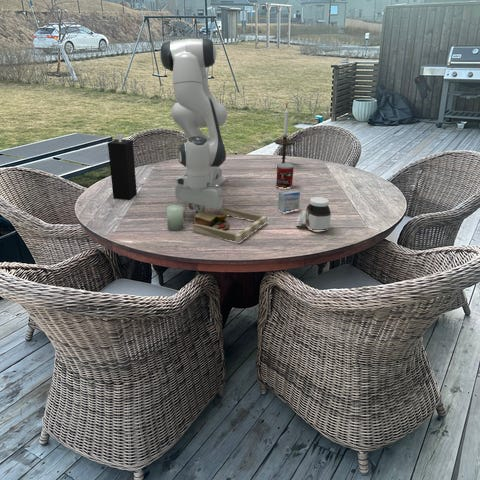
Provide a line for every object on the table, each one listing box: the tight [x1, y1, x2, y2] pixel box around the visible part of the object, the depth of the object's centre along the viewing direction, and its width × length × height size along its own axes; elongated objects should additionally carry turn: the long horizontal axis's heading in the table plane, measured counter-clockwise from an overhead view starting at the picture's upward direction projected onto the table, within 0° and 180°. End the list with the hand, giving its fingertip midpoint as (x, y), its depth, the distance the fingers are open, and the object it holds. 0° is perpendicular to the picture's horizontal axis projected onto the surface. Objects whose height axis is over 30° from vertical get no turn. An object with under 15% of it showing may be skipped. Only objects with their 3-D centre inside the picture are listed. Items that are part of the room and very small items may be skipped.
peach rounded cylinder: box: [188, 203, 200, 211], centre depth 187 cm, size 6×6×7 cm
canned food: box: [275, 162, 294, 188], centre depth 214 cm, size 8×8×11 cm
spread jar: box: [296, 196, 332, 231], centre depth 168 cm, size 12×11×12 cm
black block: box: [107, 133, 138, 201], centre depth 193 cm, size 8×8×28 cm
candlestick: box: [274, 103, 296, 163], centre depth 243 cm, size 11×11×35 cm
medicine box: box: [277, 189, 301, 212], centre depth 185 cm, size 8×4×9 cm, turn 117°
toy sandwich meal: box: [192, 210, 230, 231], centre depth 169 cm, size 12×14×5 cm
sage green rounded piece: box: [166, 204, 185, 232], centre depth 167 cm, size 6×6×8 cm
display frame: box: [192, 206, 268, 242], centre depth 169 cm, size 22×20×3 cm
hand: (198, 214), depth 174 cm, fingers closed
